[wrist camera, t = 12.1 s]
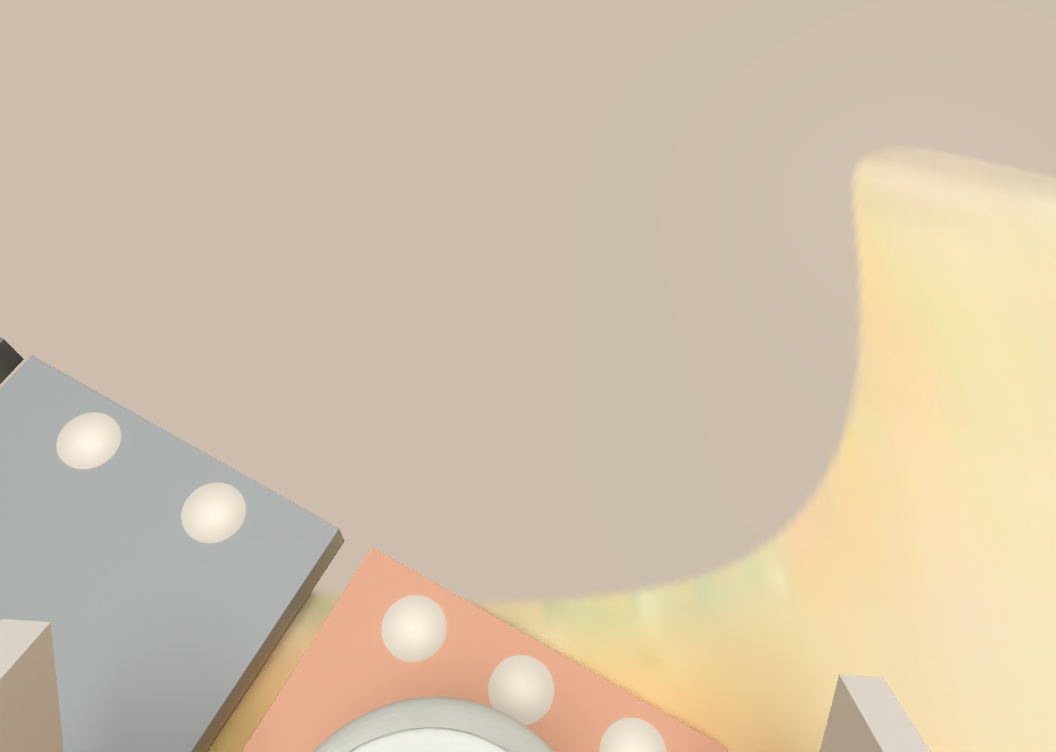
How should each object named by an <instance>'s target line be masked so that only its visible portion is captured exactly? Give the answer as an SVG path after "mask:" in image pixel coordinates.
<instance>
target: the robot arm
mask: <svg viewBox="0 0 1056 752" xmlns="http://www.w3.org/2000/svg"><path fill="white" fill-rule="evenodd" d="M0 752H64V748H63V739H62V729H61V719H60V709H59V700H58V690H57V680H56V670H55V660H54V651H53V641H52V631H51V622H42V621H27V620H12V619H2V620H1V621H0ZM820 752H931V751H930V750H929V748H928V747H927V745H926V744H925V742H924V740H923V739H922V737H921V736H920V734H919V733H918V731H917V730H916V728H915V726H914V725H913V723H912V722H911V720H910V719H909V717H908V716H907V714H906V712H905V711H904V709H903V708H902V706H901V705H900V703H899V701H898V700H897V698H896V697H895V695H894V694H893V692H892V691H891V689H890V687H889V686H888V684H887V683H886V681H885V680H884V678H882V677H867V676H852V675H839V678H838V682H837V686H836V690H835V694H834V698H833V702H832V706H831V709H830V713H829V717H828V721H827V725H826V729H825V733H824V737H823V741H822V745H821V749H820Z"/></svg>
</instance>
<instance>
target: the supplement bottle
mask: <svg viewBox="0 0 1056 752" xmlns="http://www.w3.org/2000/svg"><path fill="white" fill-rule="evenodd" d="M313 752H554V751H553V750H552V749H551V747H550V746H549V745H548V744H547V743H546V742H545V741H544V740H543V739H541V738H540V737H539V736H538V735H537V734H536V733H535V732H533V731H532V730H531V729H529V728H528V727H527V726H525V725H524V724H522V723H521V722H519V721H518V720H516V719H515V718H513V717H511V716H509V715H508V714H506V713H504V712H501V711H499V710H497V709H494V708H492V707H489V706H487V705H484V704H480V703H477V702H473V701H469V700H465V699H458V698H451V697H421V698H413V699H408V700H403V701H399V702H395V703H391V704H388V705H385V706H382V707H380V708H377V709H374V710H372V711H370V712H368V713H366V714H364V715H362V716H360V717H358V718H356V719H354V720H353V721H351V722H350V723H348V724H346V725H345V726H343V727H342V728H340V729H339V730H338V731H336V732H335V733H334V734H332V735H331V736H330V737H329V738H327V739H326V740H325V741H324V742H323V743H322V744H321V745H319V746H318V747H317V748H316V749H315V750H314V751H313Z"/></svg>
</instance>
